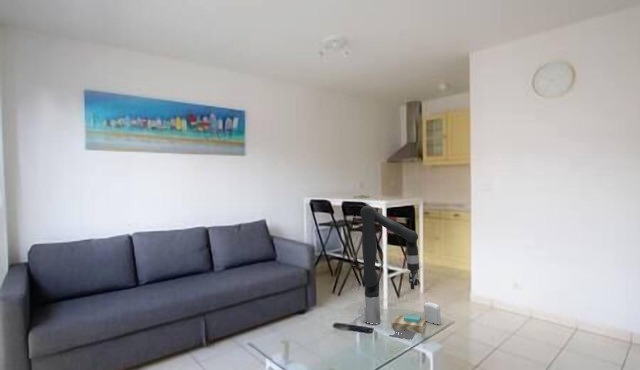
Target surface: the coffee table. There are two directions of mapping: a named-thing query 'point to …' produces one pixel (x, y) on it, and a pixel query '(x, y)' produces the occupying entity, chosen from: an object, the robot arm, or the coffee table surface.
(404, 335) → the mat
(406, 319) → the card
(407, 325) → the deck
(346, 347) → the coffee table surface
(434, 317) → the photo printer
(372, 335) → the coffee table surface
